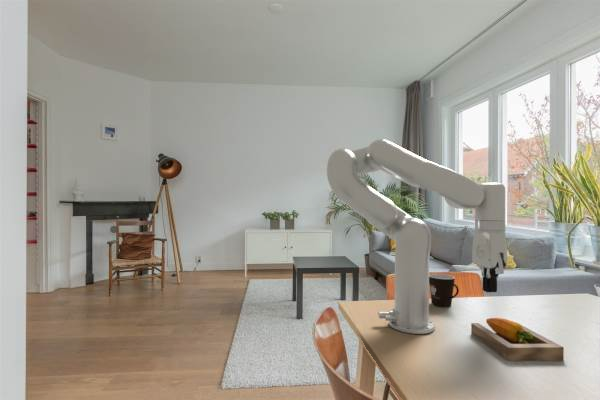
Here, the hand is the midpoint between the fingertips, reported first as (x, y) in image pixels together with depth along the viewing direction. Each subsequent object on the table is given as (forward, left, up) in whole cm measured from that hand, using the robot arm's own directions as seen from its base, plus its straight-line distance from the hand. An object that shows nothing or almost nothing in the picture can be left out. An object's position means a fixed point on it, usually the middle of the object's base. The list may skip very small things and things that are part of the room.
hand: (489, 291), depth 98 cm
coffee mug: (-3, +23, -11) cm, 26 cm away
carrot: (0, +2, -9) cm, 9 cm away
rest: (0, -10, -11) cm, 15 cm away
